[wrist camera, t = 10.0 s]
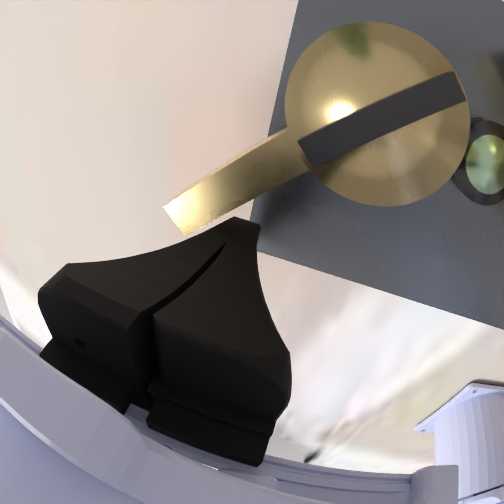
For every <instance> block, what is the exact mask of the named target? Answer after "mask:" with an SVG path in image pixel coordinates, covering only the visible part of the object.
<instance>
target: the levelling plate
mask: <svg viewBox="0 0 504 504" xmlns="http://www.w3.org/2000/svg"><path fill="white" fill-rule="evenodd" d="M356 22H382V23H387V24H392V25H396V26H398V27H401V28H404V29H407V30H409V31H411V32H413V33H415V34H417V35H419V36H420V37H422V38H423V39H425V40H426V41H428V42H429V43H430V44H432V45H433V46H434V47H435V48H436V49H437V50H439V51H440V52H441V54H442V55H443V56H444V57H445V58H446V59H447V60H448V61H449V63H450V64H451V66H452V67H453V69H454V70H455V72H456V73H457V75H458V77H459V79H460V81H461V83H462V85H463V88H464V91H465V93H466V97H467V101H468V105H469V112H470V134H469V140H468V145H467V148H466V151H465V154H464V156H463V159H462V161H461V163H460V165H459V166H458V168H457V170H456V171H455V173H454V174H453V175H452V176H451V178H450V179H449V180H448V181H447V182H446V183H445V184H444V185H443V186H442V187H441V188H440V189H438V190H437V191H435V192H434V193H432V194H431V195H429V196H427V197H425V198H423V199H421V200H419V201H416V202H413V203H410V204H406V205H401V206H392V207H381V206H372V205H365V204H362V203H358V202H355V201H352V200H350V199H348V198H345V197H343V196H341V195H339V194H338V193H336V192H334V191H332V190H331V189H330V188H328V187H327V186H325V185H324V184H323V183H322V182H321V181H320V180H318V179H317V178H316V177H315V176H314V175H313V174H312V173H311V171H310V170H309V171H307V172H305V173H303V174H301V175H299V176H297V177H295V178H293V179H291V180H289V181H287V182H285V183H283V184H281V185H279V186H277V187H275V188H273V189H271V190H269V191H267V192H265V193H263V194H261V195H259V196H258V197H256V198H254V202H253V207H252V211H251V216H250V221H251V222H254V223H257V224H259V225H260V226H261V231H260V235H259V239H258V243H257V251H258V252H262V253H265V254H268V255H271V256H274V257H277V258H281V259H284V260H287V261H290V262H293V263H296V264H300V265H303V266H306V267H309V268H312V269H315V270H319V271H322V272H325V273H328V274H331V275H334V276H338V277H341V278H344V279H347V280H350V281H353V282H356V283H360V284H363V285H366V286H369V287H372V288H375V289H378V290H382V291H385V292H388V293H391V294H394V295H397V296H400V297H404V298H407V299H410V300H413V301H416V302H419V303H422V304H426V305H429V306H432V307H435V308H438V309H441V310H444V311H447V312H451V313H454V314H457V315H460V316H463V317H466V318H469V319H472V320H476V321H479V322H482V323H485V324H488V325H491V326H494V327H497V328H500V329H504V2H503V1H501V0H299V1H298V6H297V10H296V14H295V18H294V23H293V27H292V31H291V36H290V40H289V44H288V49H287V53H286V57H285V62H284V66H283V71H282V75H281V79H280V84H279V88H278V93H277V97H276V102H275V106H274V111H273V115H272V120H271V124H270V129H269V133H268V137H270V136H271V135H273V134H275V133H277V132H278V131H280V130H282V129H284V128H286V127H287V123H286V116H285V94H286V88H287V83H288V80H289V77H290V74H291V72H292V69H293V67H294V65H295V63H296V62H297V60H298V59H299V57H300V56H301V54H302V53H303V52H304V51H305V49H306V48H307V47H308V46H309V45H310V44H311V43H312V42H314V41H315V40H316V39H317V38H319V37H320V36H321V35H323V34H325V33H327V32H328V31H330V30H332V29H335V28H337V27H340V26H343V25H347V24H351V23H356Z"/></svg>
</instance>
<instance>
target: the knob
mask: <svg viewBox="0 0 504 504" xmlns="http://www.w3.org/2000/svg"><path fill="white" fill-rule="evenodd" d="M285 116H286V123H287V127H286V128H284V129H282V130H280V131H278V132H277V133H275V134H273V135H271V136H270V137H268V138H266V139H264V140H263V141H261V142H259V143H258V144H256V145H254V146H252V147H251V148H249V149H247V150H246V151H244V152H242V153H241V154H239V155H238V156H236V157H234V158H233V159H231V160H229V161H228V162H226V163H225V164H223V165H221V166H220V167H218V168H217V169H215V170H214V171H212V172H210V173H209V174H207V175H206V176H204V177H203V178H201V179H200V180H198V181H197V182H195V183H194V184H192V185H191V186H189V187H188V188H187V189H186V190H184V191H183V192H182V193H181V194H179V195H178V196H177V197H176V198H174V199H173V200H172V201H171V202H169V203H168V204H167V205H166V206H165V207H164V208H165V210H166V211H167V213H168V214H169V215H170V217H171V218H172V219H173V221H174V222H175V224H176V225H177V226H178V228H179V229H180V230H181V232H182V233H183V234H184V236H186V235H188V234H189V233H191V232H193V231H195V230H197V229H198V228H200V227H202V226H204V225H206V224H207V223H209V222H211V221H213V220H215V219H216V218H218V217H220V216H222V215H224V214H226V213H227V212H229V211H231V210H233V209H235V208H237V207H239V206H241V205H242V204H244V203H246V202H248V201H250V200H252V199H254V198H256V197H258V196H259V195H261V194H263V193H265V192H267V191H269V190H271V189H273V188H275V187H277V186H279V185H281V184H283V183H285V182H287V181H289V180H291V179H293V178H295V177H297V176H299V175H301V174H303V173H305V172H307V171H309V170H310V171H311V173H312V174H313V175H314V176H315V177H316V178H317V179H318V180H320V181H321V182H322V183H323V184H324V185H325V186H327V187H328V188H330V189H331V190H332V191H334V192H336V193H338V194H339V195H341V196H343V197H345V198H348V199H350V200H352V201H355V202H358V203H362V204H365V205H372V206H381V207H392V206H401V205H406V204H410V203H413V202H416V201H419V200H421V199H423V198H425V197H427V196H429V195H431V194H432V193H434V192H435V191H437V190H438V189H440V188H441V187H442V186H443V185H444V184H445V183H446V182H447V181H448V180H449V179H450V178H451V176H452V175H453V174H454V173H455V171H456V170H457V168H458V166H459V165H460V163H461V161H462V159H463V156H464V154H465V151H466V148H467V145H468V140H469V134H470V112H469V105H468V101H467V97H466V93H465V91H464V88H463V85H462V83H461V81H460V79H459V77H458V75H457V73H456V72H455V70H454V69H453V67H452V66H451V64H450V63H449V61H448V60H447V59H446V58H445V57H444V56H443V55H442V54H441V52H440V51H439V50H437V49H436V48H435V47H434V46H433V45H432V44H430V43H429V42H428V41H426V40H425V39H423V38H422V37H420V36H419V35H417V34H415V33H413V32H411V31H409V30H407V29H404V28H401V27H398V26H396V25H392V24H387V23H382V22H356V23H351V24H347V25H343V26H340V27H337V28H335V29H332V30H330V31H328V32H327V33H325V34H323V35H321V36H320V37H319V38H317V39H316V40H315V41H314V42H312V43H311V44H310V45H309V46H308V47H307V48H306V49H305V51H304V52H303V53H302V54H301V56H300V57H299V59H298V60H297V62H296V63H295V65H294V67H293V69H292V72H291V74H290V77H289V80H288V83H287V88H286V94H285Z"/></svg>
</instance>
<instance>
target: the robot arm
mask: <svg viewBox="0 0 504 504" xmlns="http://www.w3.org/2000/svg"><path fill="white" fill-rule="evenodd" d="M260 231H261V226H260V225H259V224H257V223H254V222H251V221H248V220H244V219H241V218H238V217H232V218H230V219H228V220H226V221H224V222H222V223H220V224H218V225H217V226H215V227H213V228H211V229H209V230H207V231H205V232H203V233H201V234H198V235H196V236H194V237H191V238H189V239H187V240H184V241H182V242H180V243H177V244H174V245H172V246H169V247H166V248H163V249H159V250H156V251H153V252H149V253H144V254H140V255H136V256H132V257H127V258H121V259H115V260H108V261H99V262H86V263H67V264H66V265H65V266H64V267H63V268H62V269H60V270H59V271H58V272H57V273H56V274H55V275H54V276H53V277H52V278H51V279H50V280H49V281H48V282H46V283H45V284H44V285H43V286H42V287H41V288H40V289H39V292H38V304H39V307H40V310H41V313H42V315H43V317H44V320H45V322H46V324H47V326H48V329H49V331H50V333H51V335H52V337H53V338H52V339H51V340H50V342H49V343H48V344H47V345H46V346H45V348H44V349H43V348H41V347H40V346H39V345H37V344H36V343H35V342H33V341H32V340H31V339H29V338H28V337H27V336H26V335H24V334H23V333H22V332H21V331H19V330H18V329H17V328H16V327H15V326H13V325H12V324H11V323H10V322H9V321H7V320H6V319H5V318H4V317H3V316H2V315H1V314H0V504H504V387H500V386H492V385H485V384H478V383H471V384H469V385H467V386H466V387H465V388H464V389H463V390H462V391H461V392H459V393H458V394H457V395H456V396H455V397H454V398H452V399H451V400H450V401H449V402H447V403H446V404H445V405H444V406H442V407H441V408H440V409H439V410H437V411H436V412H435V413H433V414H432V415H431V416H429V417H428V418H427V419H425V420H424V421H423V422H421V423H420V424H418V425H417V426H416V427H415V432H421V433H434V441H435V466H429V467H425V468H422V469H420V470H417V471H416V472H414V473H413V474H389V473H373V472H361V471H352V470H343V469H336V468H329V467H323V466H317V465H311V464H306V463H301V462H295V461H291V460H287V459H282V458H278V457H273V456H270V455H266V454H265V452H266V449H267V445H268V442H269V438H270V437H271V436H272V434H273V431H274V427H275V423H276V421H277V419H278V418H279V417H280V415H281V414H282V413H283V411H284V410H285V409H286V407H287V406H288V403H289V401H290V397H291V387H292V373H291V361H290V352H289V351H288V349H287V347H286V346H285V344H284V342H283V340H282V338H281V337H280V335H279V333H278V331H277V329H276V327H275V324H274V322H273V320H272V318H271V315H270V312H269V310H268V307H267V304H266V302H265V298H264V295H263V291H262V287H261V283H260V278H259V272H258V264H257V243H258V239H259V235H260ZM196 461H197V462H196ZM201 463H202V464H201ZM203 464H205V465H208V466H211V467H214V468H217V469H219V470H215V469H213V468H210V467H208V466H205V465H203Z"/></svg>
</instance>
